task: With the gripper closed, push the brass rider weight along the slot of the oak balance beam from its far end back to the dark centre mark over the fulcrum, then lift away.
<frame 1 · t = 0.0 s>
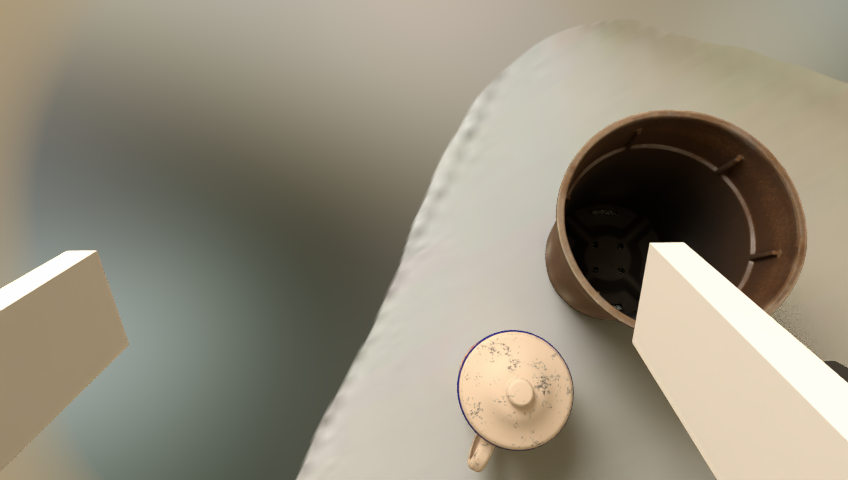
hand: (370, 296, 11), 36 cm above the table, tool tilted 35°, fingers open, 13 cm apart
plant pot: (602, 260, 47), on the table
teacup with lid: (496, 394, 45), on the table
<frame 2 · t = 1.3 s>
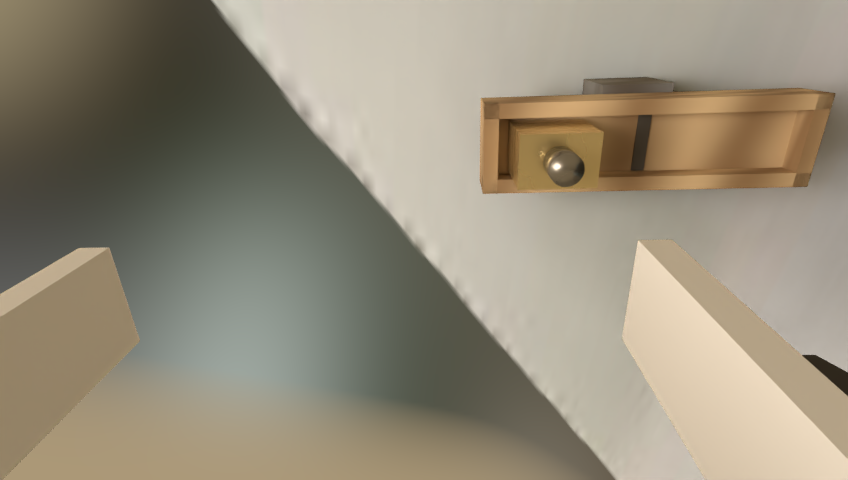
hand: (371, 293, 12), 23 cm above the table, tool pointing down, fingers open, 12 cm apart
beam: (609, 124, 32), on the table
rider: (554, 156, 24), point 8 cm above the table, slide at 0.0 cm
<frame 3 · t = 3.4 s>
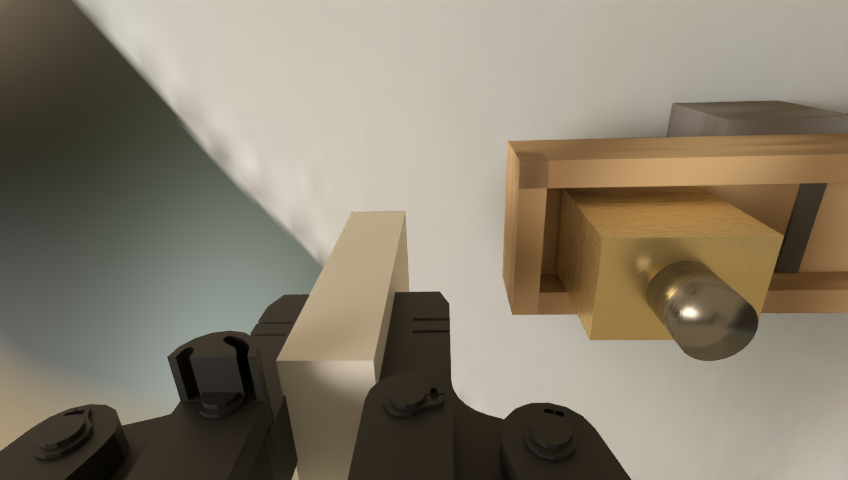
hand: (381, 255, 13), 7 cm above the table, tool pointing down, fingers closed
beam: (708, 175, 20), on the table
rider: (659, 267, 12), point 8 cm above the table, slide at 0.0 cm
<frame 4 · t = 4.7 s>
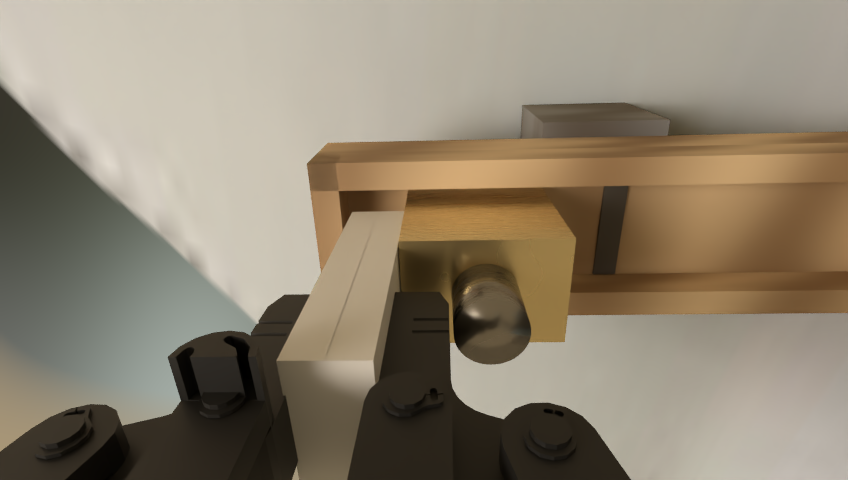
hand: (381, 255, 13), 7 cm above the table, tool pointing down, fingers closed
beam: (566, 177, 20), on the table
rider: (480, 270, 12), point 8 cm above the table, slide at 1.2 cm, touching gripper
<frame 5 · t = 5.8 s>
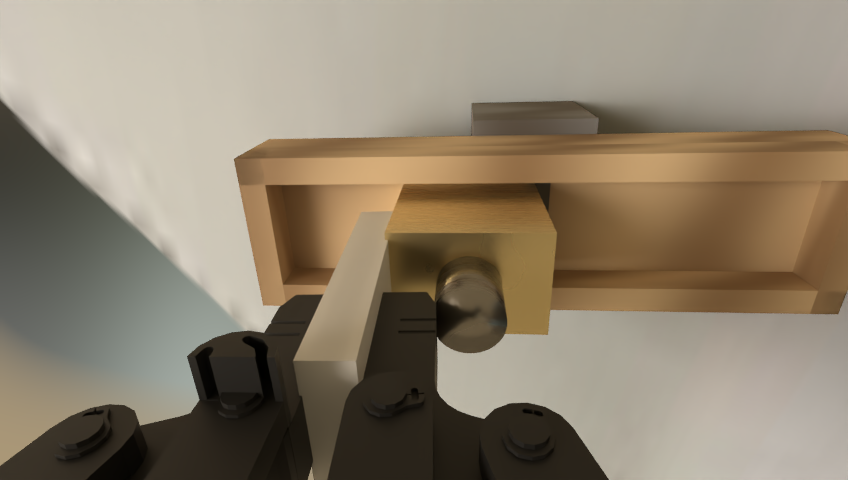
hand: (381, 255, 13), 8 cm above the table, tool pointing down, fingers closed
beam: (518, 174, 20), on the table
rider: (468, 263, 13), point 8 cm above the table, slide at 3.3 cm, touching beam, gripper
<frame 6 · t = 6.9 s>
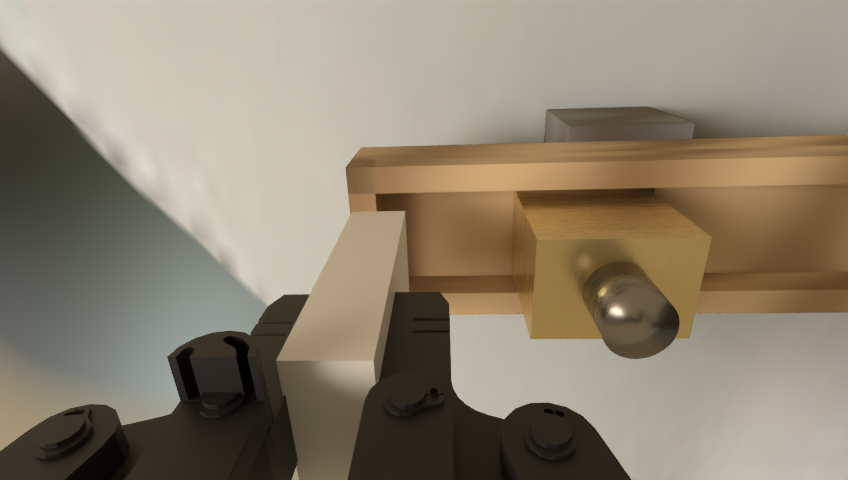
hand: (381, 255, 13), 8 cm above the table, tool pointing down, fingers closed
beam: (588, 179, 20), on the table
rider: (601, 268, 13), point 8 cm above the table, slide at 3.5 cm, touching beam
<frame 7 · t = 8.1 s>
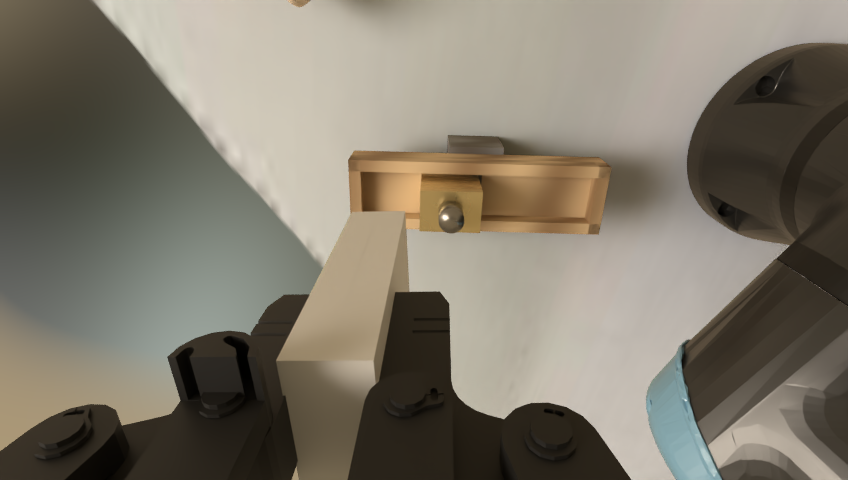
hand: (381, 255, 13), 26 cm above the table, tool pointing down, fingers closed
beam: (470, 171, 39), on the table
rider: (450, 205, 31), point 8 cm above the table, slide at 3.5 cm, touching beam
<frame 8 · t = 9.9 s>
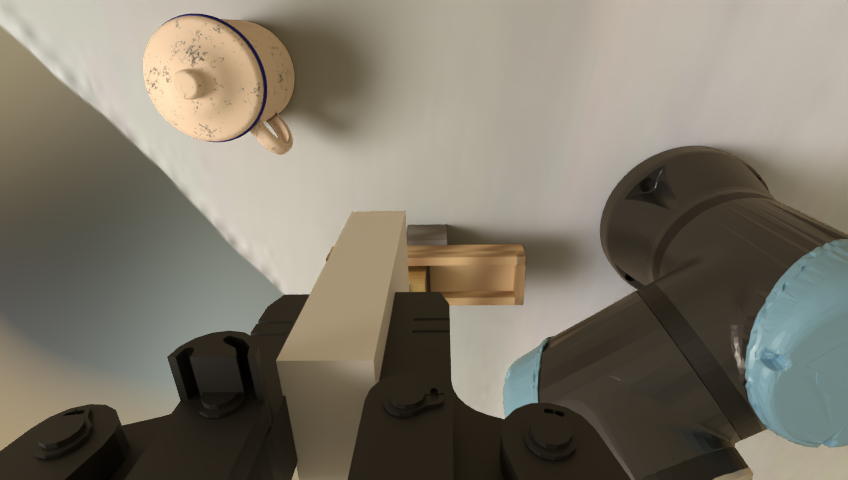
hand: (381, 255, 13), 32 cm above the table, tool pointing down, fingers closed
beam: (428, 251, 49), on the table
teacup with lid: (261, 86, 43), on the table
rider: (403, 291, 42), point 8 cm above the table, slide at 3.5 cm, touching beam
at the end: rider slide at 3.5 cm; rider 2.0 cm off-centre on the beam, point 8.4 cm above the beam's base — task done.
